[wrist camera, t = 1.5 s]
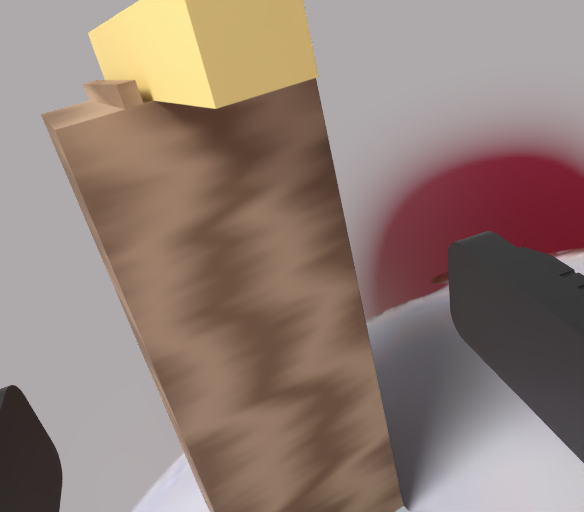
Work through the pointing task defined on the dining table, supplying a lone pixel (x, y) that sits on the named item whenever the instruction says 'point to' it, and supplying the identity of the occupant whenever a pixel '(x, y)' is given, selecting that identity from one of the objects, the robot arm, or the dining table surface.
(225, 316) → the stand
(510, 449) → the dining table surface
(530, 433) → the dining table surface
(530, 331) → the robot arm
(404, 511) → the tray
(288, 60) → the bar
